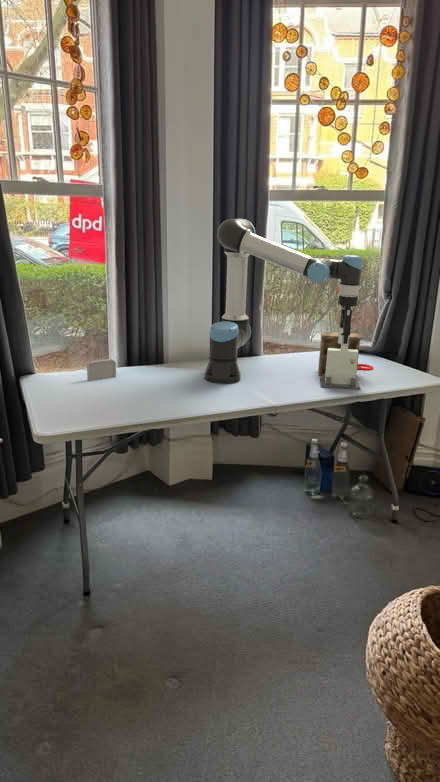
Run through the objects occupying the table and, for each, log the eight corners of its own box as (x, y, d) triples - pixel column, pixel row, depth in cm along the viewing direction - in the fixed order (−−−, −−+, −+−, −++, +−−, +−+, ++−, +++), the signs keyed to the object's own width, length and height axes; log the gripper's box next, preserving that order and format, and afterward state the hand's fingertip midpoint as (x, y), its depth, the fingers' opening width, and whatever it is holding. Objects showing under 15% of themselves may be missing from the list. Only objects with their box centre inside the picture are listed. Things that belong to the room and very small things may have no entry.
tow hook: (369, 366, 270) (350, 365, 269) (373, 339, 266) (354, 338, 265) (375, 371, 262) (356, 370, 261) (380, 344, 258) (360, 343, 257)
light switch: (116, 377, 239) (115, 359, 236) (89, 381, 232) (88, 362, 230) (114, 376, 240) (114, 358, 238) (87, 380, 234) (86, 361, 231)
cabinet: (318, 375, 250) (322, 335, 245) (318, 370, 258) (321, 331, 252) (355, 378, 249) (360, 337, 243) (354, 373, 256) (358, 333, 250)
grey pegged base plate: (320, 387, 234) (321, 377, 233) (319, 380, 244) (320, 371, 242) (360, 389, 232) (361, 380, 231) (357, 382, 242) (358, 373, 241)
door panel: (325, 383, 236) (328, 350, 231) (324, 380, 240) (327, 348, 236) (355, 385, 234) (358, 352, 230) (353, 382, 239) (357, 349, 235)
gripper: (361, 300, 214) (354, 355, 221) (354, 291, 238) (349, 341, 245) (341, 299, 215) (335, 354, 222) (336, 290, 239) (331, 339, 245)
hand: (342, 347), depth 233 cm, fingers open, 13 cm apart
